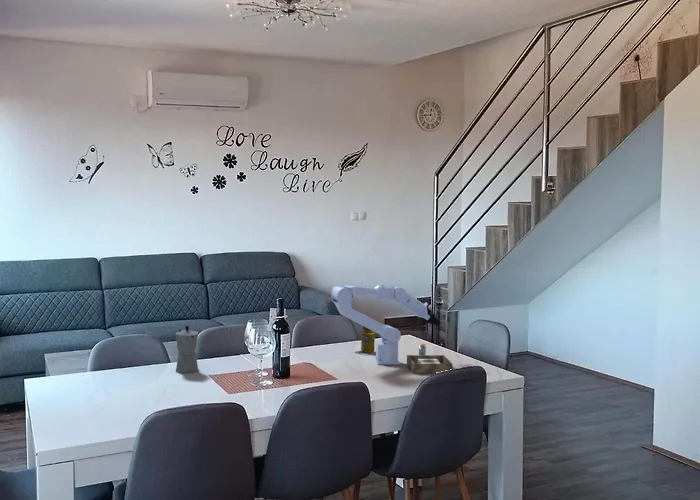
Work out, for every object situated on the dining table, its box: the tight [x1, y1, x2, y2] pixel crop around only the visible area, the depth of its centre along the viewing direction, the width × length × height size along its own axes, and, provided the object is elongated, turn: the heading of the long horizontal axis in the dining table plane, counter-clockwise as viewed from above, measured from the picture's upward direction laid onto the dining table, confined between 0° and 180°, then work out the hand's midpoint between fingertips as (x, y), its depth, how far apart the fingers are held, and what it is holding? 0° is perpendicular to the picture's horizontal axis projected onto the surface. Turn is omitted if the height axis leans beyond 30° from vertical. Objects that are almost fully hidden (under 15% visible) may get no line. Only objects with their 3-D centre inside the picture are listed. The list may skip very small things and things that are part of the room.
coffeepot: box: [175, 325, 199, 374], centre depth 282 cm, size 15×9×18 cm, turn 33°
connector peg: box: [418, 343, 427, 355], centre depth 308 cm, size 3×3×7 cm
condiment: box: [354, 326, 376, 356], centre depth 320 cm, size 7×8×12 cm
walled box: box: [406, 354, 454, 375], centre depth 292 cm, size 16×16×4 cm
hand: (436, 320), depth 308 cm, fingers open, 7 cm apart
